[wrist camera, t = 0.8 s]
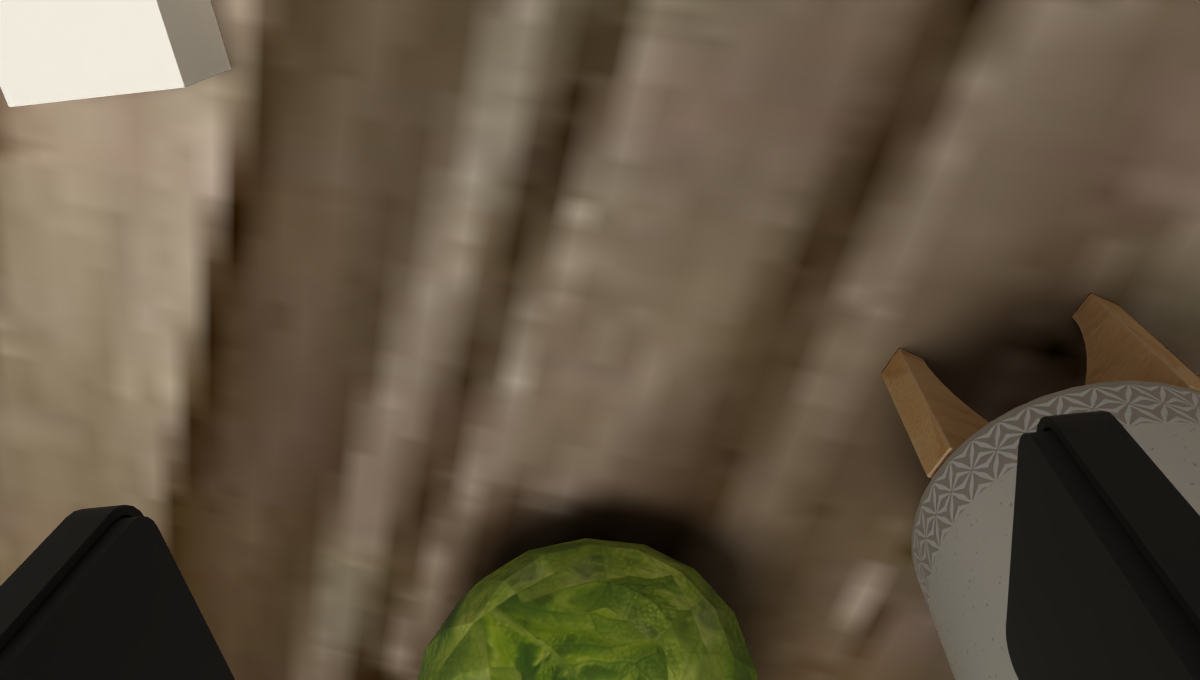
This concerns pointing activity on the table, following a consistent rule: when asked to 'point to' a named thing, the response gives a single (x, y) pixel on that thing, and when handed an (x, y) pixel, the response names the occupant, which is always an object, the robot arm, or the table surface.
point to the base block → (105, 47)
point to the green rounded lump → (590, 621)
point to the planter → (989, 464)
